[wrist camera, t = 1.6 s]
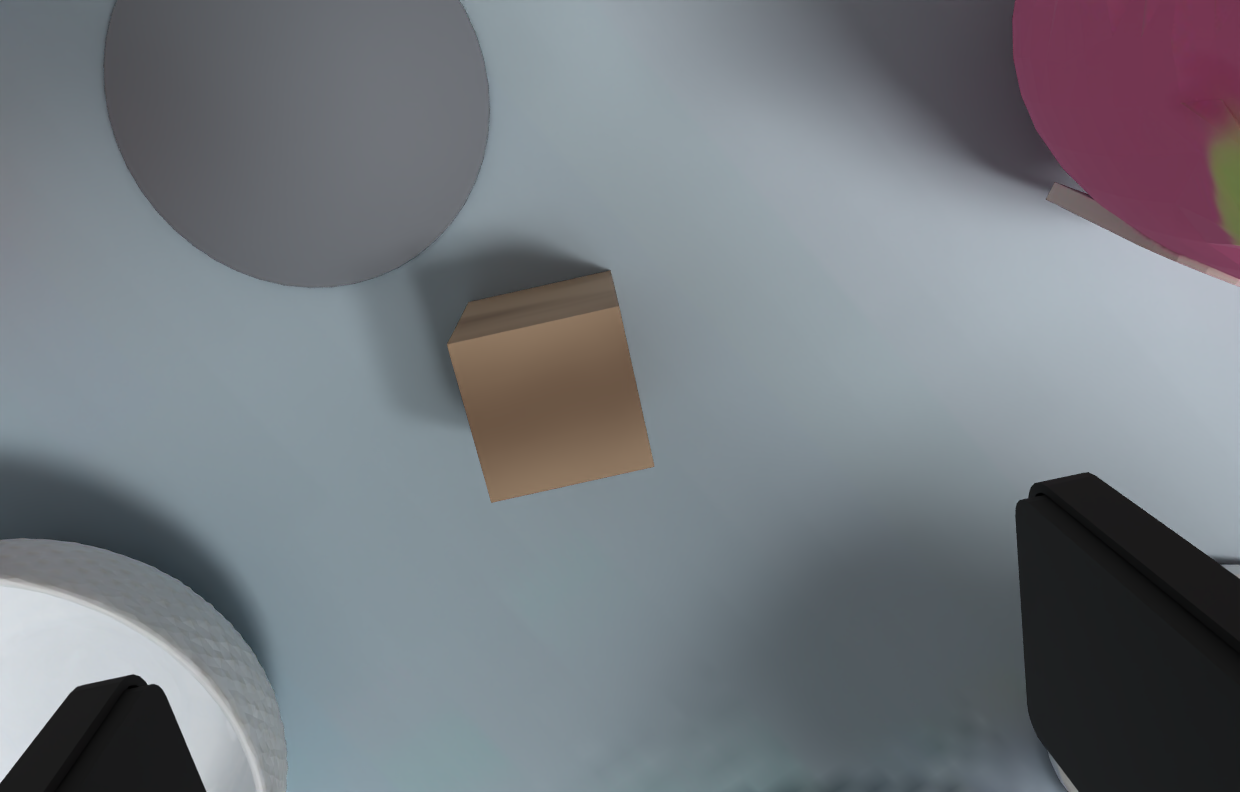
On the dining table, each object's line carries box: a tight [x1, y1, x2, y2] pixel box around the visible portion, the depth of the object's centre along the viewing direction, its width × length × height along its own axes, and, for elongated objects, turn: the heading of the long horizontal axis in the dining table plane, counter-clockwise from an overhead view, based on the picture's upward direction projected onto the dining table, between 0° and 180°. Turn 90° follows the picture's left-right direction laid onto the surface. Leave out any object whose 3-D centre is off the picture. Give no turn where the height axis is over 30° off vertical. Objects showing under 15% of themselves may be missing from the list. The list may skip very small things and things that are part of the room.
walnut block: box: [447, 270, 654, 503], centre depth 30 cm, size 5×5×6 cm
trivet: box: [104, 0, 490, 288], centre depth 30 cm, size 12×12×1 cm
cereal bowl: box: [0, 538, 288, 792], centre depth 33 cm, size 17×17×7 cm
